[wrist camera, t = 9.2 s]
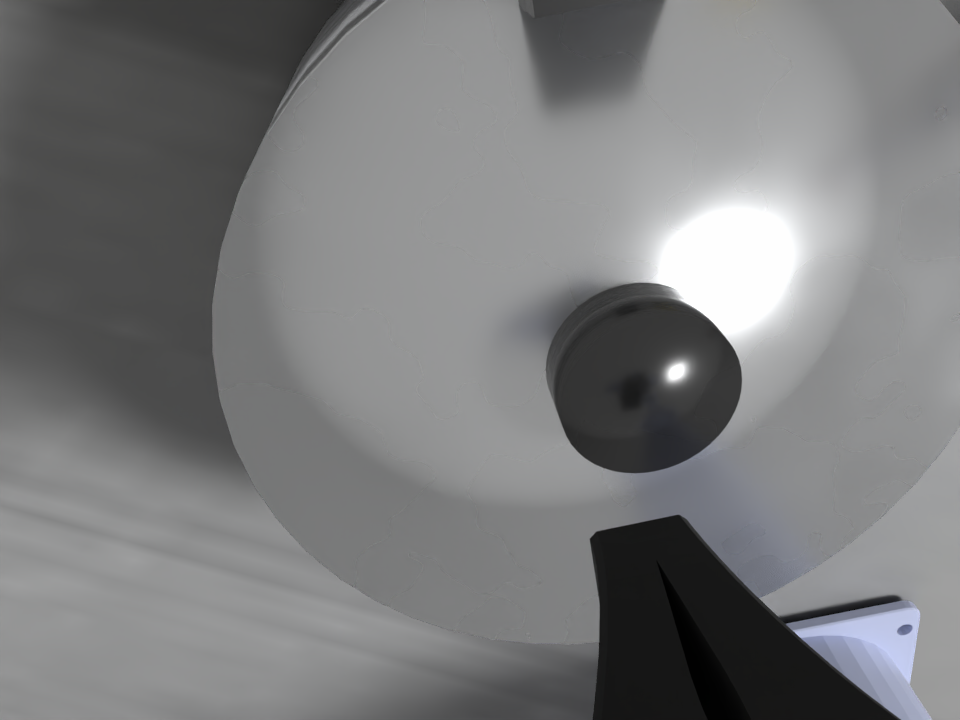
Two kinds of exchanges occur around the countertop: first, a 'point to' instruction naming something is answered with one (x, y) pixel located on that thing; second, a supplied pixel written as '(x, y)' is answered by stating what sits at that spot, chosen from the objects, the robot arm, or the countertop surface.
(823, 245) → the lid
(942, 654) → the countertop surface
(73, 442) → the countertop surface
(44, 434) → the countertop surface
